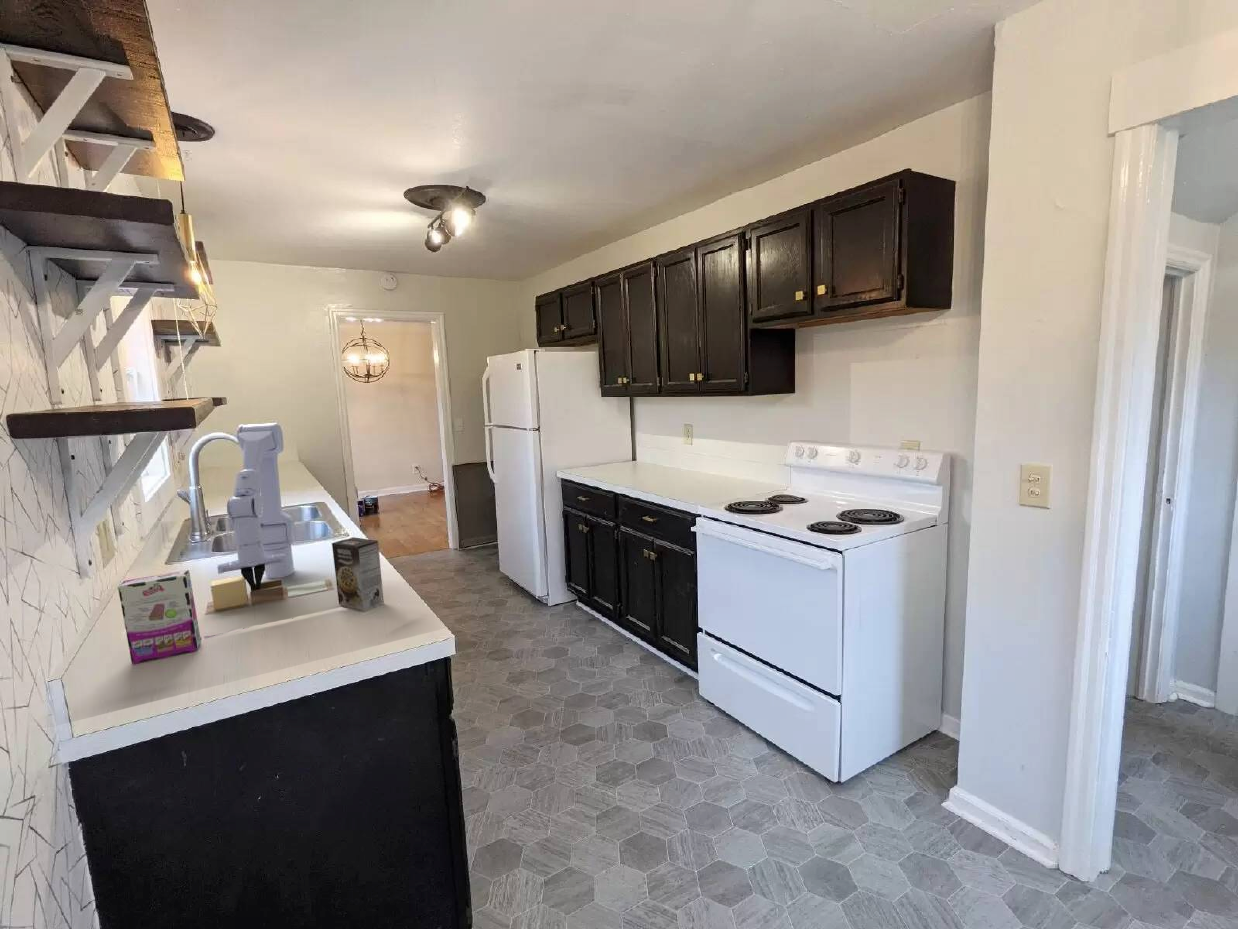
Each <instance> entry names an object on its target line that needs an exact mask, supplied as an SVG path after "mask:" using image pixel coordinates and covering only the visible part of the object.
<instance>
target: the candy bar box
mask: <svg viewBox="0 0 1238 929" xmlns="http://www.w3.org/2000/svg"><path fill="white" fill-rule="evenodd" d="M192 586H193V585H192V579H191V574H190V570H189V569H186V570H183V571H181V570H180V571H175V572H168V573H162V574H156V575H150V576H145V577H138V578H132V579H125V580H123V582H122V583H121V584H120V585H118V587H117V590H118V594H119V601H120V605H121V611H122V616H123V623H124V627H125V631H126V632H125V634H126V639H127V644H128V649H129V655H130V661H131V664H132V665H136V664H141V663H145V662H146V663H147V662H150V661H157V660H161V659H164V658H165V659H166V658H170V657H175V656H179V655H185V654H189V653H193V652H198V650H199V648H200V646H201V644H202V638H201V633H200V627H199V622H198V615H197V610H196V604H195V597H194V592H193V587H192Z"/></svg>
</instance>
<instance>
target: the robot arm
mask: <svg viewBox="0 0 1238 929" xmlns="http://www.w3.org/2000/svg"><path fill="white" fill-rule="evenodd" d="M236 440H237V443H238V444H239V446H240V448H241V450H242V451H243V454H242V455H243V456H242V461H243V462H242V470H241V471H239V472H238V473H237V474H236V478H235V484H234V491H233V495H232V497H231V498H228V500H227V502H226V514H227V517H228V518H229V520H230V526H231V527H232V528H233V532H234V539H235V545H236V546H235V547H236V552H237V553H236V554H237V560H233V561H229V562H225V563H217V566H216V568H217V574H224V573H227V572H234V571H240V574H241V576H243V577H244V578H245V580H246V583H247V584H248V585H249V587H250V590H251V589H252V591H255V590H260V584H261V582H262V580H263V578H267V579H280V578H285V577H288V576H291V575H293V574H294V573H295V572H297V571H296V567H295V566H294V557H293V551H292V545H293V544H294V543H295V542H296V539H297V529H296V528H297V527H296V525H295V519H294V518H293V516H291V515H290V514H288V513H286V512H285V511H283V510H282V499H281V496H282V495H281V485H280V475H279V466H278V465H279V464H278V456H279V454H281V453H283V451H284V437H283V430H282V427H281V425H280V424H279V423H277V422H273V423H261V424H259V423H257V424H239V426H238V427H237V429H236ZM255 583H256V586H255Z"/></svg>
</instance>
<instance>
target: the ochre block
mask: <svg viewBox="0 0 1238 929" xmlns="http://www.w3.org/2000/svg"><path fill="white" fill-rule="evenodd" d="M210 590H211V596H212V602H213V604H214V610H216V609H221V608H226V607H231V606H236V605H241V604H246V603H248V595H249V594H248V588H247V581H246V579H245V578H244V577H243V576H242V575H240V576H233V577H228V578H222V579H217V580H211V583H210Z"/></svg>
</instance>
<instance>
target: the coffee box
mask: <svg viewBox="0 0 1238 929" xmlns="http://www.w3.org/2000/svg"><path fill="white" fill-rule="evenodd" d="M331 547H332V555H333V556H332V557H333V565H334V573H335V574H334V575H335V582H336V588H337V589H336V591H337V599H338V604H339V605H341V608H343V609H348V610H353V611H356V612H357V611H358V612H362V613H365V612H367V611H370V610H372V609H374V608H376V607H375V606H377V607H378V605H379V606H381V605H383V604H382V603H384V604H385V602H384V591H383V580H382V569H381V559H380V558H381V556H380V547H379V540H375V539H367V538H362V537H354V536H353V537H350V538H347V539H346V538H345V539H341V540H337V541H334V542H332V543H331ZM380 604H381V605H380ZM373 607H374V608H373ZM371 608H372V609H371ZM369 609H370V610H369Z"/></svg>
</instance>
